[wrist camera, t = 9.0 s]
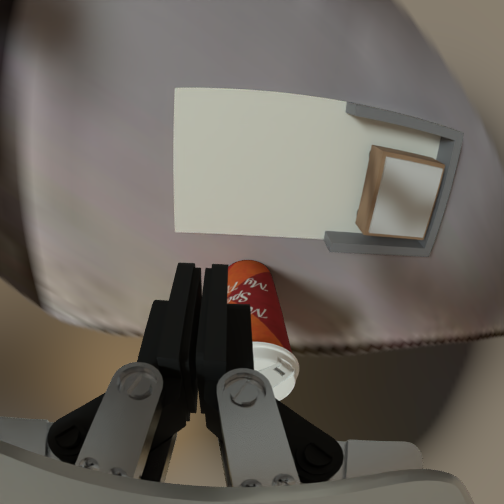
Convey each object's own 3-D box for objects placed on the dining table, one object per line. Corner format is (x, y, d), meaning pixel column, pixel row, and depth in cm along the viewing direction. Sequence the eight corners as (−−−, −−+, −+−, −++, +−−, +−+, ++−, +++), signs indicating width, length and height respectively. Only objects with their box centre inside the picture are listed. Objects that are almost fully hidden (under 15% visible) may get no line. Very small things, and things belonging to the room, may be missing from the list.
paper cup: (251, 237, 32) (260, 340, 20) (295, 283, 35) (319, 385, 23) (196, 278, 34) (180, 383, 22) (242, 317, 38) (245, 419, 26)
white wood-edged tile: (367, 142, 27) (384, 151, 23) (426, 154, 27) (447, 165, 24) (351, 218, 31) (364, 236, 28) (408, 224, 31) (424, 241, 28)
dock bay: (176, 87, 24) (168, 88, 22) (447, 127, 26) (463, 133, 23) (175, 229, 31) (170, 244, 29) (417, 243, 33) (428, 256, 31)
